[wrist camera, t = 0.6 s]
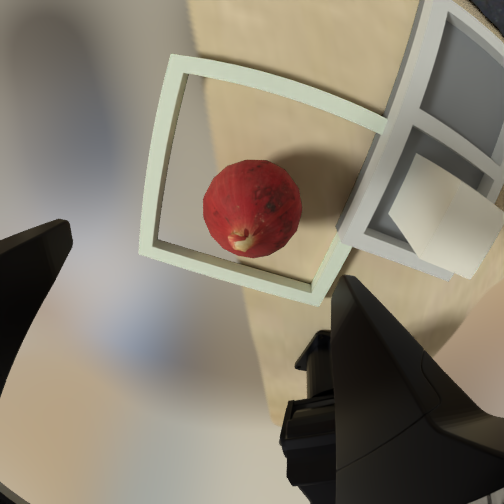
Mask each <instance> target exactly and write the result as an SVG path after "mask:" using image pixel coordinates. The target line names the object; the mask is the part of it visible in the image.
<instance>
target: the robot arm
mask: <svg viewBox="0 0 504 504" xmlns="http://www.w3.org/2000/svg"><path fill="white" fill-rule="evenodd" d="M72 245H73V239H72V235H71V228H70V223H69V222H68V221H67V220H63V219H56V220H53V221H51V222H48V223H45V224H42V225H39V226H36V227H34V228H31V229H28V230H26V231H23V232H20V233H18V234H15V235H12V236H10V237H8V238H5V239H3V240H0V397H1V394H2V391H3V388H4V385H5V383H6V379H7V377H8V374H9V372H10V369H11V367H12V365H13V362H14V360H15V358H16V355H17V353H18V351H19V349H20V346H21V344H22V342H23V340H24V338H25V336H26V334H27V332H28V330H29V328H30V325H31V324H32V322H33V319H34V318H35V316H36V314H37V312H38V310H39V308H40V307H41V305H42V303H43V301H44V299H45V298H46V296H47V294H48V292H49V291H50V289H51V287H52V285H53V284H54V282H55V280H56V278H57V276H58V274H59V272H60V270H61V268H62V266H63V264H64V262H65V260H66V258H67V256H68V254H69V252H70V250H71V248H72ZM423 350H424V349H423V347H422V346H421V345H420V344H419V343H418V342H417V341H416V340H415V339H414V337H413V336H412V335H411V334H410V333H409V332H408V331H407V330H406V329H405V328H404V327H403V326H402V324H401V323H400V322H399V321H398V320H397V319H396V318H395V317H394V316H393V315H392V314H391V313H390V312H389V311H388V310H387V309H386V307H385V306H384V305H383V304H382V303H381V302H380V301H379V300H378V299H377V298H376V297H375V296H374V295H373V294H372V293H371V292H370V291H369V290H368V289H367V288H366V287H365V286H364V285H363V284H362V283H361V282H360V281H359V280H358V279H357V278H356V277H355V276H350V275H345V274H344V275H342V276H341V277H340V279H339V282H338V284H337V286H336V288H335V290H334V293H333V295H332V299H331V333H327V332H323V331H319V332H317V333H316V334H315V335H314V337H313V338H312V340H311V341H310V343H309V344H308V346H307V347H306V349H305V350H304V351H303V353H302V354H301V356H300V357H299V359H298V360H297V361H296V363H295V369H298V370H303V371H307V399H302V400H296V401H294V400H291V401H288V405H287V408H286V412H285V416H284V421H283V425H282V430H281V434H280V440H279V444H280V445H281V446H282V450H283V453H284V455H285V457H286V458H287V478H288V480H289V482H290V483H291V485H292V486H298V487H299V489H300V490H301V491H302V492H303V494H304V495H305V496H306V497H307V498H308V500H309V501H310V504H504V418H501V417H496V416H493V415H490V414H488V413H486V412H484V411H483V410H482V409H480V408H479V407H478V406H477V405H476V404H475V403H474V402H473V401H472V400H471V399H470V397H469V396H468V395H467V394H466V393H465V392H464V391H463V390H462V389H461V388H460V387H459V386H458V385H457V384H456V383H455V382H454V381H453V380H452V379H451V378H450V377H449V376H448V375H447V374H446V373H445V372H444V371H443V370H442V369H441V368H440V367H439V365H438V364H437V363H436V362H435V361H434V360H433V359H432V358H431V356H430V355H429V354H428V353H427V352H426V351H425V350H424V351H423ZM0 504H30V503H28V502H27V501H25V500H24V499H22V498H21V497H19V496H18V495H17V494H15V493H14V492H13V491H11V490H10V489H9V488H7V487H6V486H5V485H3V484H2V483H1V482H0Z"/></svg>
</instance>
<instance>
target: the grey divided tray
mask: <svg viewBox="0 0 504 504" xmlns="http://www.w3.org/2000/svg"><path fill="white" fill-rule="evenodd" d="M382 117H384V118H386V119H388V121H387V123H386V126H385V128H384V131H383V133H382V135H380V134H378V133H376V134H375V137H374V139H373V142H372V144H371V147H370V149H369V152H368V154H367V157H366V159H365V161H364V164H363V166H362V169H361V171H360V173H359V176H358V178H357V180H356V183H355V185H354V187H353V189H352V192H351V194H350V196H349V198H348V201H347V203H346V205H345V207H344V209H343V212H342V214H341V216H340V218H339V220H338V222H337V225H336V229H337V232H338V235H339V238H340V241H341V243H342V244H345V245H348V246H351V247H354V248H357V249H360V250H363V251H366V252H369V253H372V254H374V255H377V256H380V257H383V258H386V259H389V260H391V261H394V262H397V263H400V264H403V265H405V266H408V267H411V268H413V269H416V270H419V271H422V272H424V273H427V274H430V275H432V276H435V277H438V278H440V279H443V280H445V281H448V282H449V280H450V279H451V277H452V276H453V274H454V273H453V272H450V271H448V270H446V269H443V268H441V267H438V266H436V265H433V264H431V263H428V262H426V261H423V260H421V259H419V257H418V256H417V254H416V253H415V251H414V250H413V248H412V247H411V245H410V244H409V242H408V241H407V239H406V238H405V236H404V235H403V234H402V232H401V231H400V229H399V228H398V226H397V225H396V224H395V222H394V221H393V219H392V218H391V217H390V215H389V214H388V213H389V211H390V209H391V207H392V205H393V203H394V201H395V199H396V197H397V195H398V193H399V190H400V188H401V186H402V184H403V182H404V180H405V178H406V175H407V173H408V171H409V169H410V166H411V164H412V162H413V160H414V157H415V155H416V153H417V154H419V155H421V156H423V157H424V158H426V159H428V160H429V161H431V162H433V163H435V164H436V165H438V166H440V167H441V168H443V169H444V170H446V171H448V172H449V173H451V174H452V175H454V176H456V177H457V178H459V179H460V180H462V181H463V182H465V183H466V184H468V185H469V186H470V187H472V188H473V189H475V190H476V191H477V192H479V193H480V194H481V195H483V196H484V197H485V198H487V199H488V200H489V201H491V202H492V203H493V204H495V202H496V200H497V197H498V195H499V193H500V191H501V189H502V187H503V184H504V43H503V42H502V41H501V40H500V39H499V38H498V37H496V36H495V35H494V34H493V33H492V32H491V31H490V30H489V29H488V28H486V27H485V26H484V25H483V24H482V23H481V22H479V21H478V20H477V19H476V18H475V17H473V16H472V15H471V14H470V13H468V12H467V11H466V10H464V9H463V8H462V7H460V6H459V5H458V4H456V3H455V2H454V1H452V0H420V1H419V5H418V9H417V13H416V16H415V20H414V24H413V27H412V30H411V34H410V37H409V41H408V44H407V47H406V50H405V53H404V56H403V60H402V63H401V66H400V69H399V72H398V75H397V78H396V80H395V83H394V86H393V89H392V92H391V95H390V97H389V100H388V103H387V106H386V108H385V111H384V114H383V116H382Z"/></svg>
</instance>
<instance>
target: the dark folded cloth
mask: <svg viewBox="0 0 504 504" xmlns="http://www.w3.org/2000/svg"><path fill="white" fill-rule="evenodd" d="M471 1H472V2H473V3H474V4H475V5H476V6H477V7H478V8H479V9H480V10H481V12H482V13H483V14H484V15H485V16H486V17H487V18H488V19H489V20H490V21H491V22H492V23H493V24H494V25H495V26H497V28H498V29H499V31H500V33H501V34H502V36H503V37H504V0H471Z"/></svg>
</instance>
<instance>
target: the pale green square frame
mask: <svg viewBox="0 0 504 504" xmlns="http://www.w3.org/2000/svg"><path fill="white" fill-rule="evenodd" d="M189 74H193V75H199V76H204V77H209V78H214V79H219V80H223V81H228V82H232V83H236V84H240V85H244V86H248V87H252V88H256V89H260V90H263V91H267V92H270V93H274V94H277V95H280V96H283V97H287V98H290V99H293V100H296V101H299V102H302V103H305V104H308V105H310V106H313V107H316V108H319V109H321V110H324V111H327V112H329V113H332V114H334V115H337V116H339V117H342V118H344V119H347V120H349V121H351V122H354V123H356V124H358V125H361V126H363V127H365V128H367V129H370V130H372V131H374V132H376V133H378V134H380V135H382V133H383V131H384V128H385V126H386V123H387V121H388V119H386V118H384V117H382V116H380V115H378V114H376V113H374V112H372V111H370V110H368V109H365V108H363V107H361V106H359V105H356V104H354V103H352V102H349V101H347V100H345V99H342V98H340V97H337V96H335V95H332V94H330V93H327V92H325V91H322V90H319V89H316V88H314V87H311V86H308V85H305V84H302V83H299V82H296V81H293V80H290V79H287V78H283V77H280V76H277V75H273V74H270V73H266V72H262V71H259V70H255V69H251V68H247V67H243V66H238V65H234V64H229V63H225V62H220V61H214V60H209V59H203V58H197V57H191V56H184V55H176V54H171V56H170V59H169V63H168V67H167V70H166V74H165V78H164V83H163V87H162V91H161V96H160V100H159V105H158V109H157V114H156V118H155V124H154V129H153V134H152V141H151V146H150V152H149V159H148V165H147V172H146V180H145V187H144V196H143V204H142V214H141V226H140V238H139V254H140V255H143V256H146V257H149V258H152V259H155V260H158V261H161V262H165V263H168V264H171V265H174V266H178V267H181V268H184V269H187V270H190V271H194V272H197V273H200V274H204V275H207V276H210V277H213V278H217V279H220V280H224V281H227V282H231V283H234V284H237V285H241V286H244V287H248V288H251V289H255V290H258V291H262V292H265V293H269V294H273V295H276V296H280V297H283V298H287V299H291V300H295V301H298V302H302V303H306V304H310V305H313V306H317V307H319V305H320V304H321V302H322V300H323V299H324V297H325V295H326V294H327V292H328V290H329V288H330V287H331V285H332V283H333V281H334V280H335V278H336V276H337V274H338V272H339V271H340V269H341V267H342V265H343V263H344V261H345V260H346V258H347V256H348V254H349V252H350V250H351V248H352V247H351V246H348V245H345V244H342V243H341V241H340V238H339V235H338V232H337V233H336V235H335V237H334V239H333V241H332V243H331V245H330V247H329V249H328V251H327V253H326V255H325V257H324V259H323V261H322V263H321V265H320V267H319V269H318V271H317V273H316V275H315V277H314V279H313V281H312V283H311V284H307V283H304V282H300V281H297V280H293V279H290V278H286V277H283V276H279V275H276V274H272V273H269V272H265V271H262V270H259V269H255V268H252V267H248V266H245V265H242V264H238V263H235V262H231V261H228V260H225V259H221V258H218V257H215V256H211V255H208V254H204V253H201V252H198V251H194V250H191V249H188V248H184V247H181V246H178V245H175V244H171V243H168V242H165V241H161V240H158V230H159V222H160V215H161V208H162V201H163V194H164V188H165V181H166V176H167V170H168V164H169V159H170V154H171V148H172V143H173V139H174V134H175V129H176V124H177V120H178V115H179V111H180V107H181V103H182V98H183V95H184V91H185V86H186V83H187V79H188V75H189Z"/></svg>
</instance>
